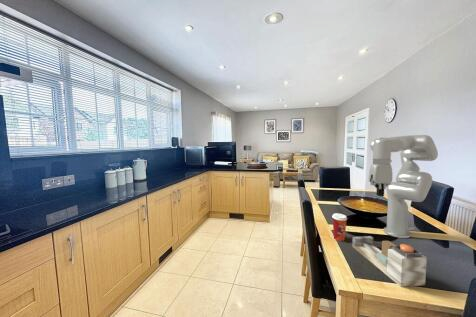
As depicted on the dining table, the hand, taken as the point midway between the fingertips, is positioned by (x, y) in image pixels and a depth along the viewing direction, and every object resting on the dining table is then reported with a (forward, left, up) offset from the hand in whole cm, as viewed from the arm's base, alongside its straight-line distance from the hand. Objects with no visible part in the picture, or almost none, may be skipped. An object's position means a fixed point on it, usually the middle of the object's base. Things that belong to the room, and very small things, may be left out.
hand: (380, 195), depth 101 cm
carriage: (+11, +19, -25) cm, 33 cm away
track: (+11, +16, -27) cm, 33 cm away
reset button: (+11, +27, -15) cm, 33 cm away
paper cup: (+18, -7, -27) cm, 33 cm away
